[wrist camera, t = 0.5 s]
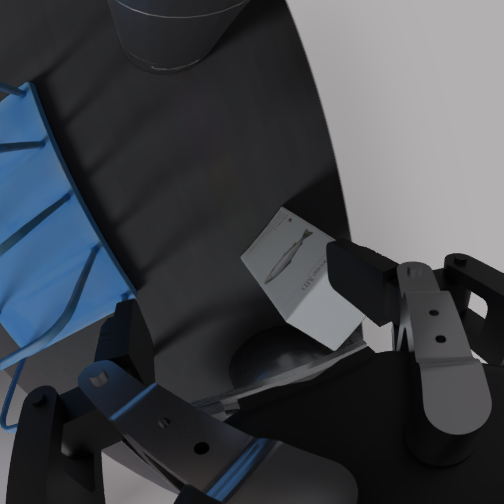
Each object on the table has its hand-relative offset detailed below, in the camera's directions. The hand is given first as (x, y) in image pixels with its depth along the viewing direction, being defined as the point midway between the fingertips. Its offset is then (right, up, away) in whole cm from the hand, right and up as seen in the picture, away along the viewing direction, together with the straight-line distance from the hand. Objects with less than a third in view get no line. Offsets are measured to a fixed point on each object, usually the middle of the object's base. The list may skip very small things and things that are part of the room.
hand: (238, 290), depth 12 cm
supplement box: (+4, +2, +22) cm, 23 cm away
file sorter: (-24, +4, +12) cm, 27 cm away
